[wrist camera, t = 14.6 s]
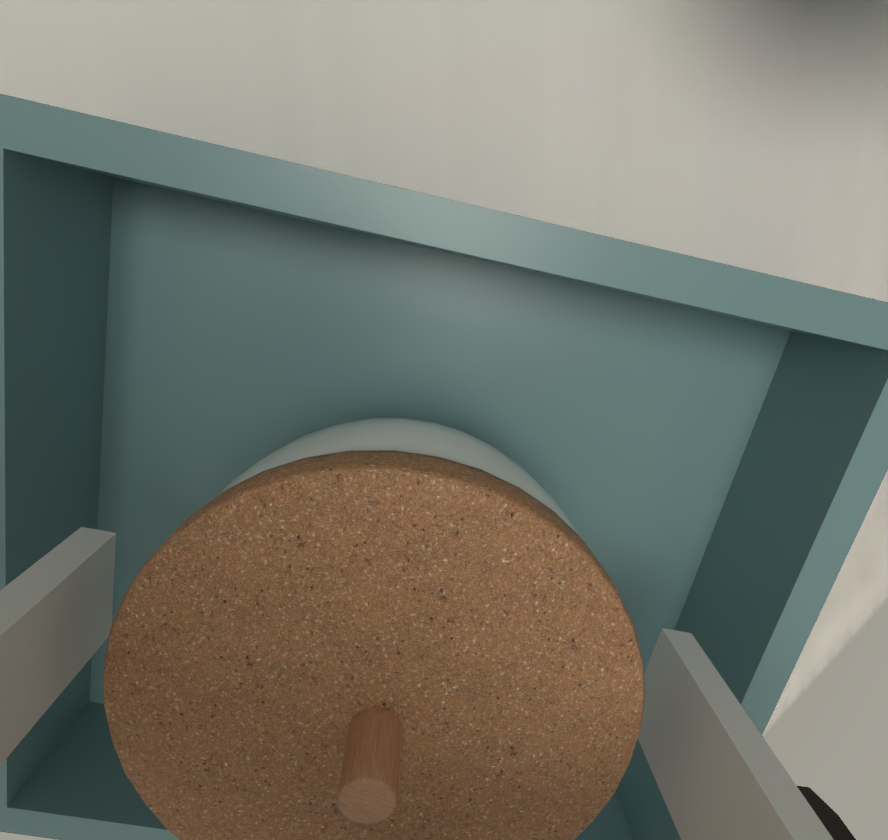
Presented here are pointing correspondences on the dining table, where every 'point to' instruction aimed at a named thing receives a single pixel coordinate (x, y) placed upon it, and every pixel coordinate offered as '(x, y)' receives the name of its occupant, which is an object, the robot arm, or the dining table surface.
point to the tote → (409, 400)
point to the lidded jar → (375, 651)
